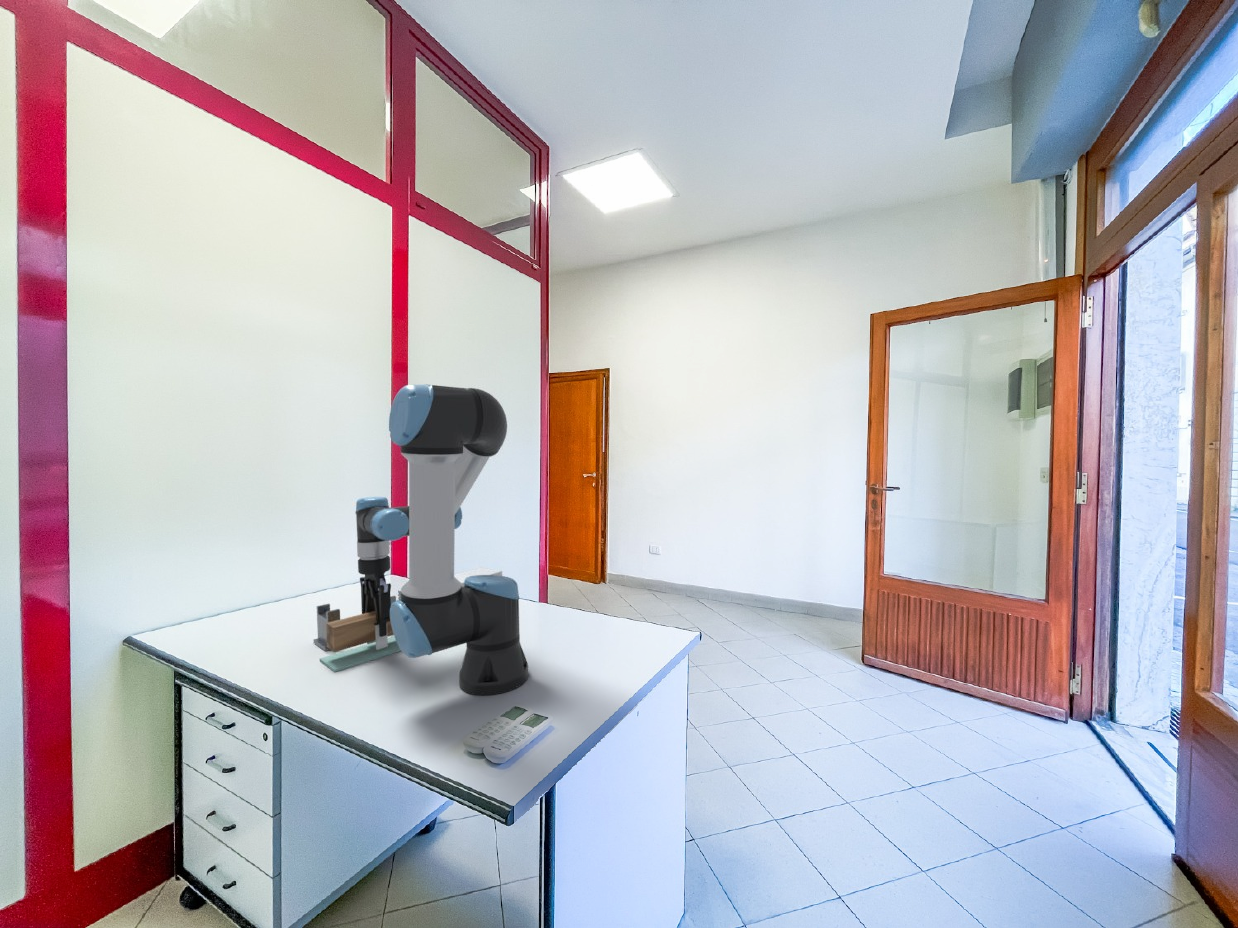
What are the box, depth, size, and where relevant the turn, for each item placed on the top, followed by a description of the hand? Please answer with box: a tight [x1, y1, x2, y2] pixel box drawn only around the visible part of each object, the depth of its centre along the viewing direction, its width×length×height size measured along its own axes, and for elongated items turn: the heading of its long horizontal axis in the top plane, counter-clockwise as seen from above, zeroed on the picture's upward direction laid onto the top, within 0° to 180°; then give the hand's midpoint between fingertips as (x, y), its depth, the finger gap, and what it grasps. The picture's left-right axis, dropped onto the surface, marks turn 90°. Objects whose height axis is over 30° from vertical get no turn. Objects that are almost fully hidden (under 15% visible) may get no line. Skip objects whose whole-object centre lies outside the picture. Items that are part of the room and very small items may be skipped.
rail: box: [326, 611, 394, 653], centre depth 129 cm, size 5×22×6 cm, turn 138°
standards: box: [312, 593, 397, 652], centre depth 140 cm, size 9×20×10 cm, turn 138°
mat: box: [319, 636, 402, 673], centre depth 129 cm, size 10×24×1 cm, turn 138°
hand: (377, 644), depth 129 cm, fingers closed on rail, 5 cm apart
